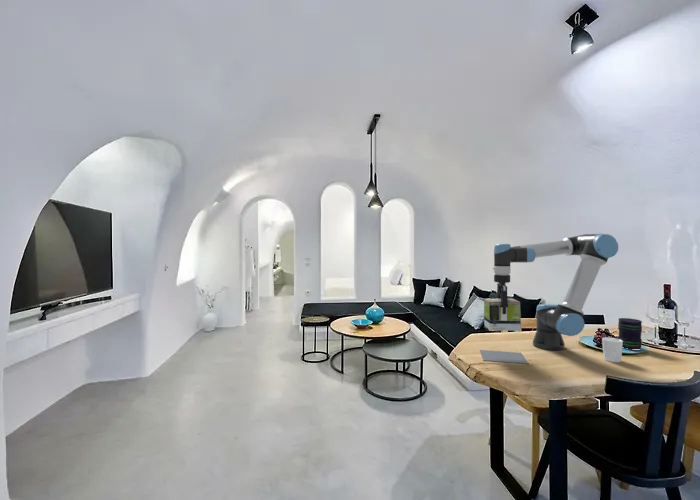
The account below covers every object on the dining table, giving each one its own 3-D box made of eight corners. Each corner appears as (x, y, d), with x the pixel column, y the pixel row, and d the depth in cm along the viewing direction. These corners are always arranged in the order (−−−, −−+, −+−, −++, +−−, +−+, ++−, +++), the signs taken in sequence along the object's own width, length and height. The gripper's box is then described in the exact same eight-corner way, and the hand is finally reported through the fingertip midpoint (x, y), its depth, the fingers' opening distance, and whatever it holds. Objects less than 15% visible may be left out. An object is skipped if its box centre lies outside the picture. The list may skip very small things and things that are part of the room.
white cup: (617, 364, 161) (617, 342, 161) (598, 359, 168) (598, 338, 168) (625, 361, 165) (626, 340, 164) (607, 356, 172) (607, 336, 171)
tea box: (513, 326, 179) (513, 298, 178) (521, 331, 169) (521, 301, 168) (483, 325, 180) (483, 297, 180) (489, 330, 170) (489, 301, 170)
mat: (521, 353, 178) (521, 352, 178) (528, 364, 162) (528, 363, 162) (479, 350, 183) (479, 349, 183) (483, 360, 167) (483, 360, 167)
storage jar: (638, 346, 187) (639, 319, 187) (644, 351, 178) (644, 323, 178) (616, 344, 192) (616, 317, 191) (620, 349, 183) (620, 321, 182)
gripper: (490, 272, 186) (490, 312, 186) (497, 276, 164) (497, 322, 164) (506, 272, 184) (505, 313, 184) (514, 276, 162) (514, 323, 162)
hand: (501, 317), depth 174 cm, fingers closed on tea box, 10 cm apart
